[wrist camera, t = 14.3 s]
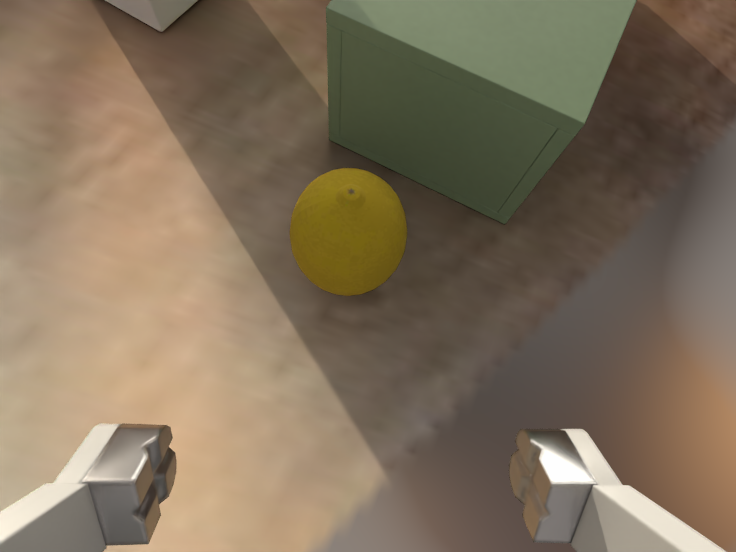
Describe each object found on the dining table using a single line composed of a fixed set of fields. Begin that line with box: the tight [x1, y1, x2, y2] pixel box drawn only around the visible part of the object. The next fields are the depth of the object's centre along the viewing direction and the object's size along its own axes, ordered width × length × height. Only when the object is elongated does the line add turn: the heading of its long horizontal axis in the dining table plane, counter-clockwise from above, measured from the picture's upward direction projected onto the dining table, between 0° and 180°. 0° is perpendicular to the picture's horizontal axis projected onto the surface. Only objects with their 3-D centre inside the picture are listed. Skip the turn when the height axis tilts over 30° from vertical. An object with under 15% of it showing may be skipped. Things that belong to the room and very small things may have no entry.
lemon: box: [290, 168, 407, 296], centre depth 21 cm, size 6×6×8 cm
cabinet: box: [326, 0, 637, 224], centre depth 25 cm, size 15×12×9 cm
